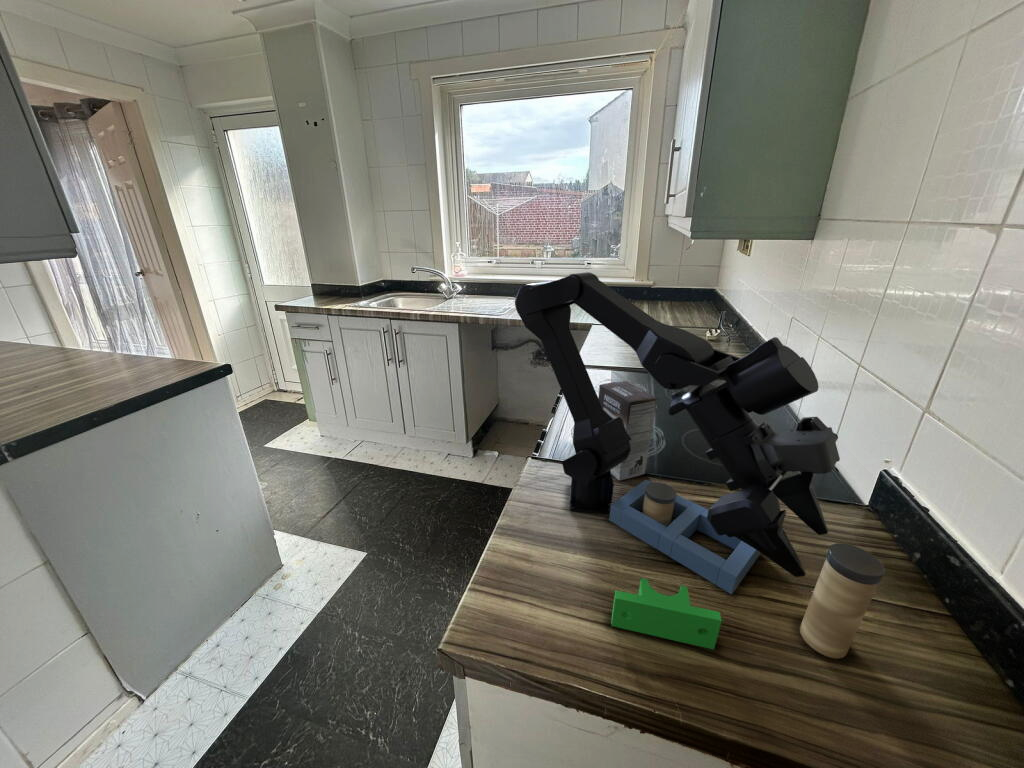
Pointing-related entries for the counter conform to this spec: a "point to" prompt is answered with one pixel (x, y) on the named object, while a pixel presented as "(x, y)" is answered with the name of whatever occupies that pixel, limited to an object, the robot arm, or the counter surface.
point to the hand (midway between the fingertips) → (813, 553)
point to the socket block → (685, 538)
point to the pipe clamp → (666, 616)
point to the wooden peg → (840, 599)
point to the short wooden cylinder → (659, 502)
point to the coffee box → (630, 422)
